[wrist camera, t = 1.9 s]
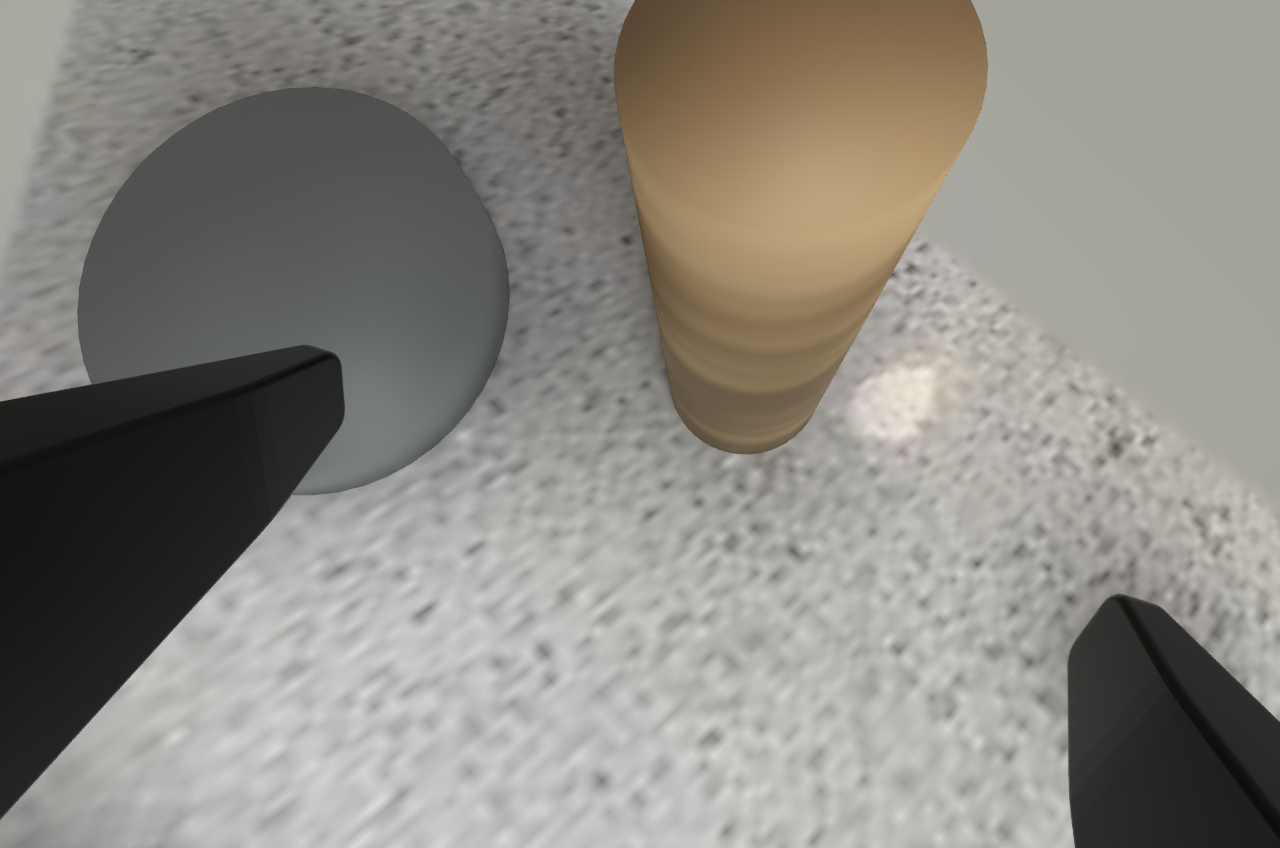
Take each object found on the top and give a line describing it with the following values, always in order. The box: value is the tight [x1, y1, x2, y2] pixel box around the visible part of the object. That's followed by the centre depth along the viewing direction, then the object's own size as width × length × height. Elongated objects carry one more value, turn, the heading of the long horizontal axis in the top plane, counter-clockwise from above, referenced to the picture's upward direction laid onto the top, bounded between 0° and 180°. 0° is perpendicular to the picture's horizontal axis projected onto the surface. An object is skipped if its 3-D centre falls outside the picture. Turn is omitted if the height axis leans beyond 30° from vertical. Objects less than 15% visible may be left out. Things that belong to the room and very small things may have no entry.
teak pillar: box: [614, 0, 988, 454], centre depth 14 cm, size 4×4×12 cm
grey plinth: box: [78, 87, 509, 495], centre depth 21 cm, size 11×11×2 cm
